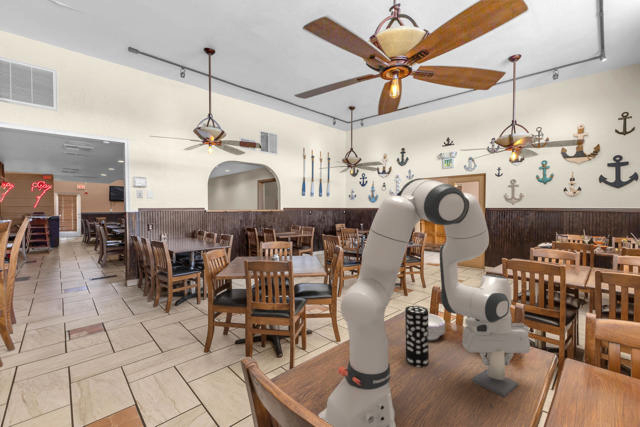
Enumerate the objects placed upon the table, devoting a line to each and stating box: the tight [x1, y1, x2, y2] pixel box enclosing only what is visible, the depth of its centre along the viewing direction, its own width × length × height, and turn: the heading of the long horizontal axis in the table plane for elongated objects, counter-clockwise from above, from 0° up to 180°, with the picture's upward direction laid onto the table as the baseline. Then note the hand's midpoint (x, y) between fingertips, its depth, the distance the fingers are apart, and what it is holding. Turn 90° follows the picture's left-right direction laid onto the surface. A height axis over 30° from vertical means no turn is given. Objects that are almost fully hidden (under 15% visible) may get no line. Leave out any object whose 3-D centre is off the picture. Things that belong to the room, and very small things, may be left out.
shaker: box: [486, 349, 506, 380], centre depth 97 cm, size 5×5×10 cm
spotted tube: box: [404, 305, 430, 368], centre depth 112 cm, size 8×8×20 cm
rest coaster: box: [471, 368, 519, 398], centre depth 98 cm, size 10×10×1 cm
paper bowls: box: [428, 312, 446, 341], centre depth 134 cm, size 15×15×8 cm
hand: (495, 364), depth 97 cm, fingers closed on shaker, 5 cm apart
